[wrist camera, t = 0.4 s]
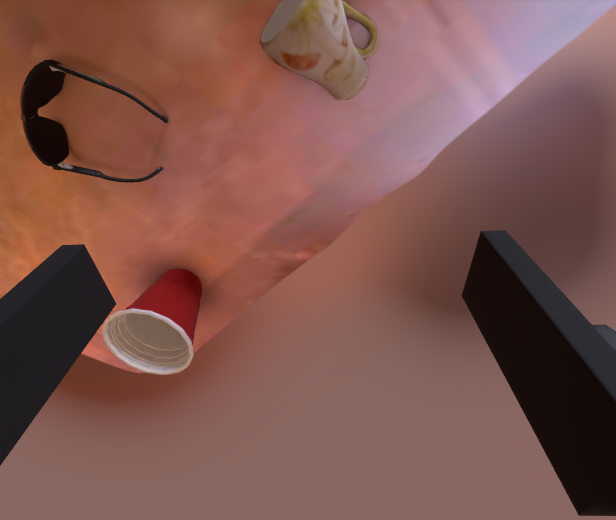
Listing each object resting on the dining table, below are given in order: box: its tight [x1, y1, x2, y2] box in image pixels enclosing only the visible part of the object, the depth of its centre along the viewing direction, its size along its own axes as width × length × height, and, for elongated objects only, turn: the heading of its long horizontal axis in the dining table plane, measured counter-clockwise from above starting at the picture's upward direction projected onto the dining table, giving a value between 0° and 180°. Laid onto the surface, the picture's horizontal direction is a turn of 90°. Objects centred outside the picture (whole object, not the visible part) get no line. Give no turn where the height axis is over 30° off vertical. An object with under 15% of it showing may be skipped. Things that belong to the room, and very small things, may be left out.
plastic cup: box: [102, 269, 202, 375], centre depth 43 cm, size 11×11×12 cm
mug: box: [260, 0, 379, 100], centre depth 28 cm, size 8×10×10 cm
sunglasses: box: [20, 60, 168, 182], centre depth 34 cm, size 11×12×5 cm
